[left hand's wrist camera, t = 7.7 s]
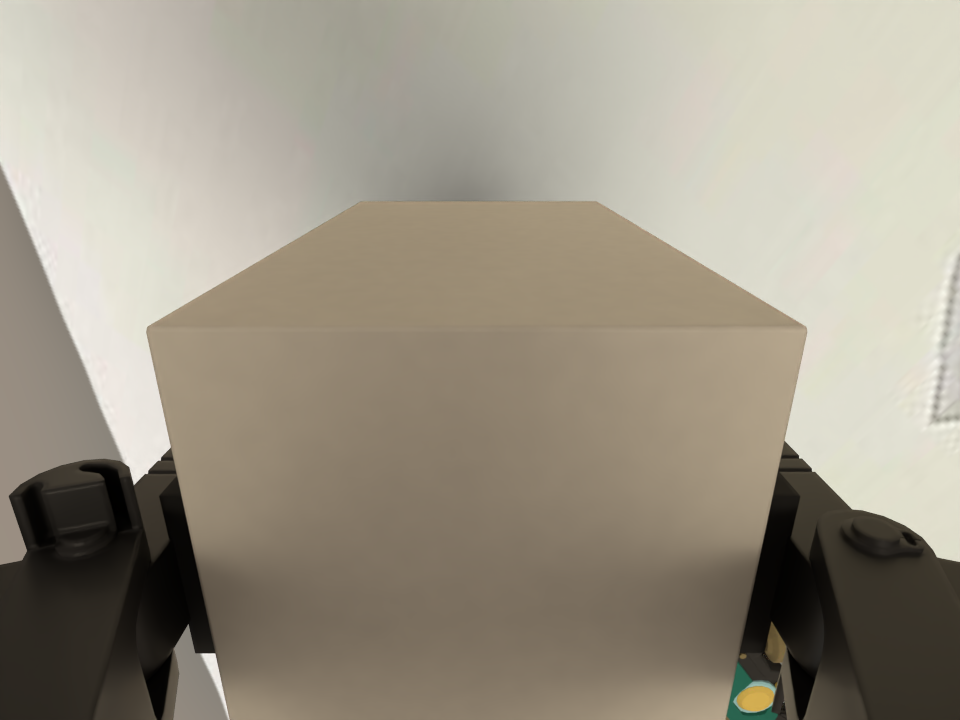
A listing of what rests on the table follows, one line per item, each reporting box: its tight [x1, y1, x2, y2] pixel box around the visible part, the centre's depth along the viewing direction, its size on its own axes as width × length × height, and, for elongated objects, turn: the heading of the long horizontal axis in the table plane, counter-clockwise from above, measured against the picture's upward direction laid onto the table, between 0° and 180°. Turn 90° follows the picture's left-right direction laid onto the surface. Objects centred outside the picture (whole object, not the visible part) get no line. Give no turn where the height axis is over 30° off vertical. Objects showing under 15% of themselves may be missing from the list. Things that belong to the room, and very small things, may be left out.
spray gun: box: [725, 622, 787, 720], centre depth 47 cm, size 4×17×15 cm
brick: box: [146, 201, 807, 720], centre depth 13 cm, size 8×7×12 cm
